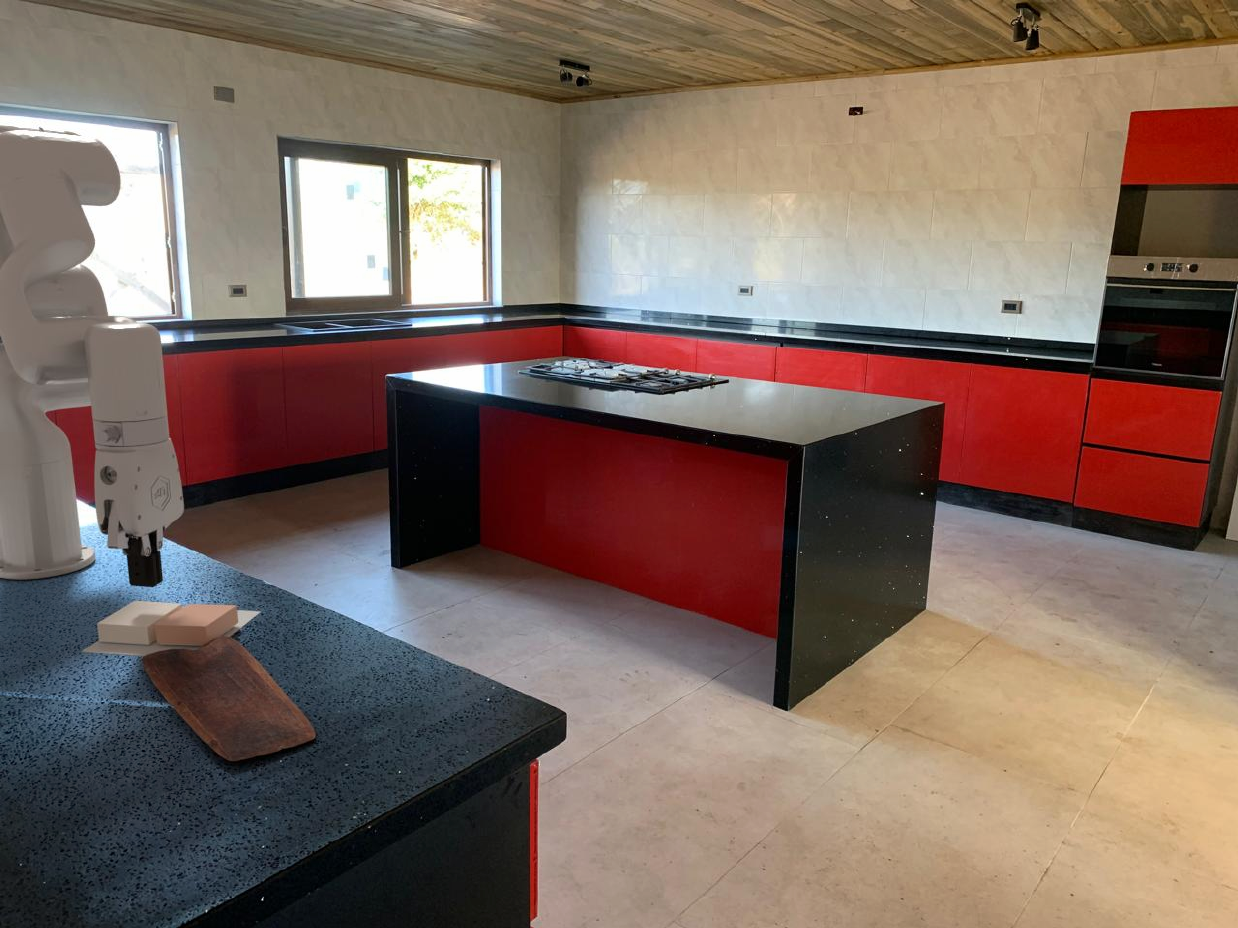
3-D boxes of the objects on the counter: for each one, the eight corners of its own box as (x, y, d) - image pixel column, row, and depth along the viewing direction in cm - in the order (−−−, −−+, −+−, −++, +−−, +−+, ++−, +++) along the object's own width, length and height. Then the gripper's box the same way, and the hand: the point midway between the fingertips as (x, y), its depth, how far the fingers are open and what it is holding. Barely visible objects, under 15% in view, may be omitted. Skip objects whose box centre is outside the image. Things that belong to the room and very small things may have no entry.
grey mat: (81, 654, 101) (81, 651, 101) (155, 607, 115) (155, 604, 115) (200, 663, 100) (200, 659, 100) (261, 614, 114) (260, 611, 114)
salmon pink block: (191, 622, 110) (157, 644, 103) (189, 603, 109) (155, 624, 102) (238, 624, 109) (207, 646, 102) (236, 605, 109) (205, 626, 102)
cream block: (136, 619, 110) (99, 642, 104) (134, 600, 110) (97, 623, 103) (183, 622, 110) (149, 646, 103) (181, 603, 109) (147, 626, 102)
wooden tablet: (325, 725, 85) (213, 749, 78) (323, 748, 85) (212, 772, 79) (232, 630, 104) (136, 642, 98) (231, 649, 105) (135, 662, 98)
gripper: (122, 447, 95) (138, 610, 100) (199, 422, 110) (210, 565, 114) (55, 444, 96) (73, 605, 100) (140, 419, 110) (153, 561, 115)
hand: (146, 583), depth 107 cm, fingers closed
